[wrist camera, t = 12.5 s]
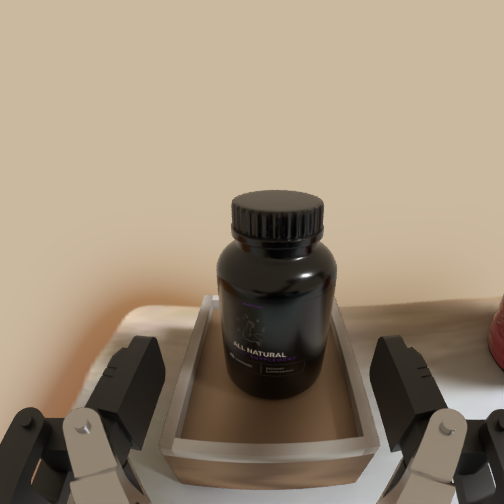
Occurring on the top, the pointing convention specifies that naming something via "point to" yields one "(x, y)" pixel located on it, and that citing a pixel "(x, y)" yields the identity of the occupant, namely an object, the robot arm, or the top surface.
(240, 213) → the supplement bottle
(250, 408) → the open rectangular tray
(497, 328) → the canister
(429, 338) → the top surface
